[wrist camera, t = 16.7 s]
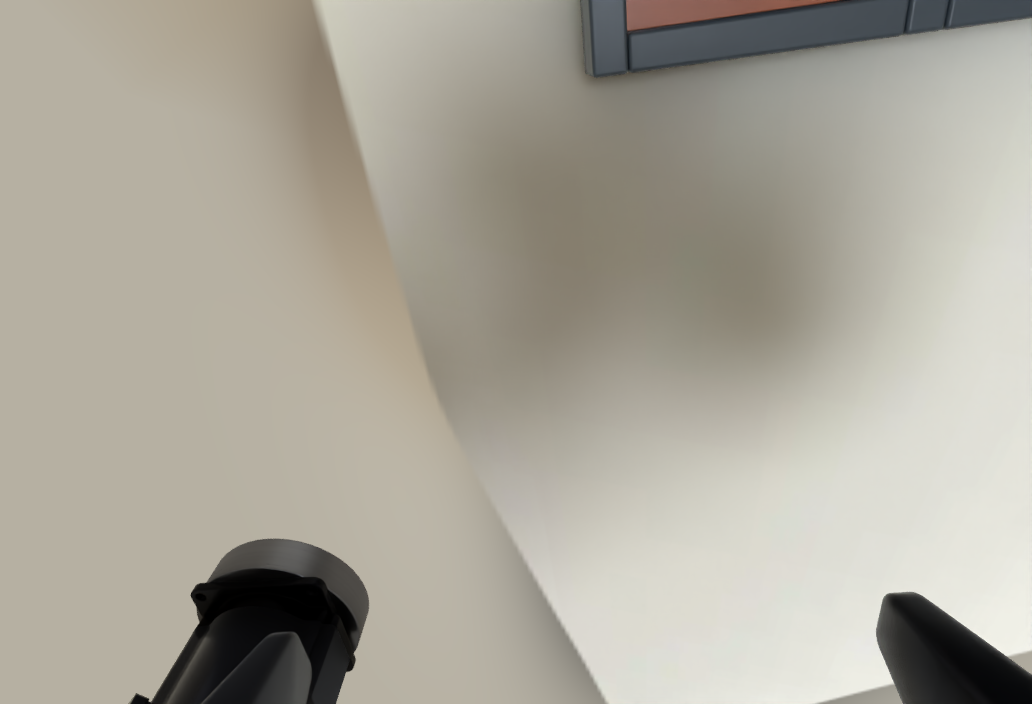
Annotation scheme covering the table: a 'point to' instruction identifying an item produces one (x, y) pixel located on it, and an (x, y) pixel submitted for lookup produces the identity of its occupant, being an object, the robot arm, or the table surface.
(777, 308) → the table surface
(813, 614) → the table surface
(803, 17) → the grid
